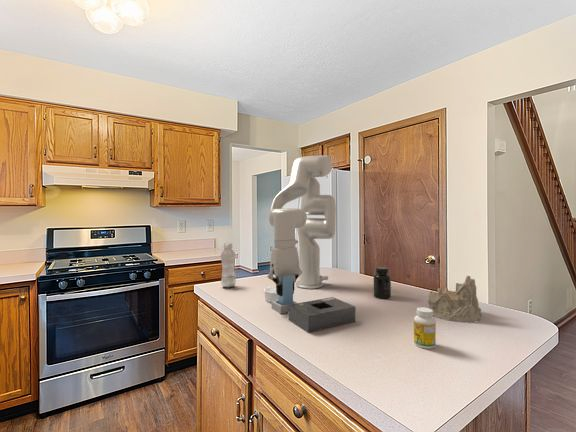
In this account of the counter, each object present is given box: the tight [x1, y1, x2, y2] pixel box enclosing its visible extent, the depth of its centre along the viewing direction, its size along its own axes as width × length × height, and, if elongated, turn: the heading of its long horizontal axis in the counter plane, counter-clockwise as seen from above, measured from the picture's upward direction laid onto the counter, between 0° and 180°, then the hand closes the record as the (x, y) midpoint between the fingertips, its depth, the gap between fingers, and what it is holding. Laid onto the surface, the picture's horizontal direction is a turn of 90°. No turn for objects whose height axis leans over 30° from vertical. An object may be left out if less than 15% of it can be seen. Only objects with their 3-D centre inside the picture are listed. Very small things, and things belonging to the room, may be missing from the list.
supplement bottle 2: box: [413, 307, 437, 350], centre depth 85 cm, size 5×5×10 cm
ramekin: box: [263, 286, 278, 304], centre depth 126 cm, size 9×9×4 cm
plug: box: [278, 275, 294, 305], centre depth 115 cm, size 4×4×12 cm
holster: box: [271, 300, 297, 315], centre depth 114 cm, size 7×7×2 cm
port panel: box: [288, 296, 356, 333], centre depth 102 cm, size 18×12×5 cm, turn 119°
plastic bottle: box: [220, 242, 237, 289], centre depth 145 cm, size 6×7×20 cm
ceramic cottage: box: [427, 275, 482, 323], centre depth 109 cm, size 16×16×15 cm
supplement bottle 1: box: [373, 266, 392, 300], centre depth 129 cm, size 7×7×12 cm
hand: (285, 293), depth 115 cm, fingers closed on plug, 4 cm apart
